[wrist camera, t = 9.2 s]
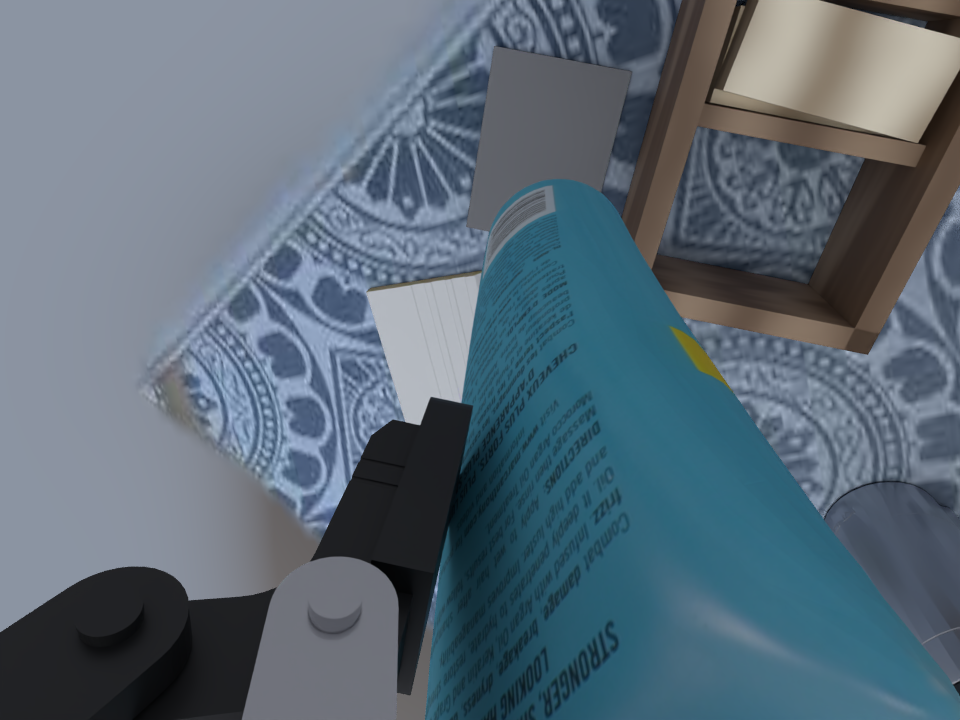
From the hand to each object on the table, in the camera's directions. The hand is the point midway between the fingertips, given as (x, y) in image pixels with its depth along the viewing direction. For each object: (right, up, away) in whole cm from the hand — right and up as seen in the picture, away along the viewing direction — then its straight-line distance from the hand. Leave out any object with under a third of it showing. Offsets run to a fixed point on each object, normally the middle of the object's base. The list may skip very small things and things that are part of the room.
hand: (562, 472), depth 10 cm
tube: (+1, +6, +11) cm, 13 cm away
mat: (+3, +16, +32) cm, 36 cm away
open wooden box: (+18, +16, +30) cm, 38 cm away
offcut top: (+18, +18, +23) cm, 35 cm away
